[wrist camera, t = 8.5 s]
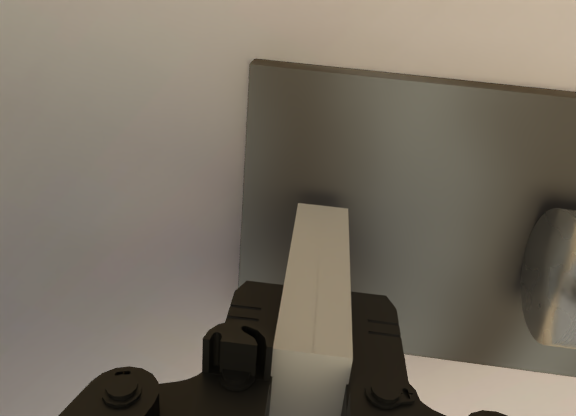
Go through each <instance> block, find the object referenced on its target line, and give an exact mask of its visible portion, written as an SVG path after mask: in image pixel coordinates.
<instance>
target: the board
mask: <svg viewBox="0 0 576 416" xmlns="http://www.w3.org/2000/svg"><path fill="white" fill-rule="evenodd" d="M298 203H303V204H312V205H321V206H330V207H339V208H348V219H349V251H350V282H351V292H360V293H368V294H376V295H385V296H387V297H388V299H389V300H390V301H391V302H392V304H393V305H394V306H395V308H396V309H397V315H398V321H399V327H400V333H401V339H402V346H403V352H404V354H407V355H415V356H422V357H430V358H437V359H445V360H452V361H459V362H467V363H474V364H482V365H489V366H497V367H504V368H511V369H519V370H526V371H534V372H541V373H549V374H556V375H563V376H571V377H576V349H570V348H563V347H555V346H548V345H542V344H540V343H538V342H537V341H536V340H535V339H534V338H533V336H532V335H531V333H530V332H529V329H528V327H527V325H526V322H525V318H524V314H523V309H522V302H521V272H522V264H523V258H524V253H525V249H526V246H527V243H528V240H529V237H530V234H531V232H532V230H533V228H534V226H535V224H536V223H537V221H538V220H539V219H540V217H541V216H542V215H543V214H544V213H545V212H547V211H548V210H550V209H553V208H560V209H568V210H576V92H570V91H561V90H551V89H541V88H532V87H522V86H512V85H503V84H493V83H483V82H474V81H464V80H455V79H445V78H435V77H426V76H416V75H406V74H397V73H387V72H377V71H368V70H358V69H348V68H339V67H329V66H319V65H310V64H300V63H291V62H281V61H271V60H262V59H254V60H253V61H252V62H251V63H250V68H249V87H248V107H247V126H246V146H245V165H244V185H243V205H242V224H241V244H240V263H239V283H238V288H239V287H240V286H241V285H242V284H243V283H245V282H246V281H255V282H264V283H272V284H281V285H284V281H285V275H286V270H287V264H288V258H289V252H290V247H291V241H292V235H293V229H294V224H295V218H296V212H297V207H298Z"/></svg>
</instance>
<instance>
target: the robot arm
mask: <svg viewBox="0 0 576 416" xmlns="http://www.w3.org/2000/svg"><path fill="white" fill-rule="evenodd" d="M59 416H445V415H443V414H441V413H439V412H436V411H434V410H432V409H431V408H429V407H428V406H426V405H425V404H424V403H422V402H421V401H420V399H419V397H418V395H417V392H416V390H415V389H414V388H413V387H412V386H411V385H410V384H409V382H408V377H407V370H406V364H405V358H404V352H403V346H402V339H401V333H400V327H399V321H398V315H397V309H396V308H395V306H394V305H393V304H392V302H391V301H390V300H389V299H388V297H387V296H385V295H376V294H368V293H360V292H351V282H350V251H349V219H348V208H339V207H330V206H321V205H312V204H303V203H298V207H297V212H296V218H295V224H294V229H293V235H292V241H291V247H290V252H289V258H288V264H287V270H286V275H285V281H284V285H281V284H272V283H264V282H255V281H246V282H245V283H243V284H242V285H241V286H240V287H239V288H238V289H237V290H236V291H235V293H234V296H233V299H232V302H231V307H230V308H229V312H228V315H227V318H226V321H225V323H222V324H218V325H217V326H215V327H213V328H212V329H210V330H209V331H208V332H207V334H206V335H205V336H204V338H203V360H202V373H200V374H199V375H197V376H195V377H192V378H190V379H188V380H183V381H178V382H171V383H163V384H158V381H157V380H156V378H155V377H154V375H153V374H151V373H150V372H148V371H146V370H144V369H142V368H135V367H121V368H115V369H112V370H110V371H107V372H104V373H102V374H101V375H99V376H98V377H97V378H95V379H94V380H93V381H91V382H90V383H89V385H88V386H87V387H86V388H85V389H84V390H83V391H82V392H81V393H80V394H79V395H78V396H77V397H76V398H75V399H74V400H73V401H72V402H71V403H70V404H69V405H68V406H67V407H66V408H65V409H64V411H63V412H62V413H61V414H60V415H59ZM469 416H507V415H504V414H501V413H499V412H495V411H484V410H482V411H478V412H474V413H471V414H470V415H469Z"/></svg>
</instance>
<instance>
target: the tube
mask: <svg viewBox="0 0 576 416" xmlns="http://www.w3.org/2000/svg"><path fill="white" fill-rule="evenodd" d="M521 302H522V309H523V314H524V318H525V322H526V325H527V327H528V329H529V332H530V333H531V335H532V336H533V338H534V339H535V340H536V341H537V342H538V343H540V344H542V345H548V346H555V347H563V348H570V349H576V210H568V209H560V208H553V209H550V210H548V211H547V212H545V213H544V214H543V215H542V216H541V217H540V219H539V220H538V221H537V223H536V224H535V226H534V228H533V230H532V232H531V234H530V237H529V240H528V243H527V246H526V249H525V253H524V258H523V264H522V272H521Z"/></svg>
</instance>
